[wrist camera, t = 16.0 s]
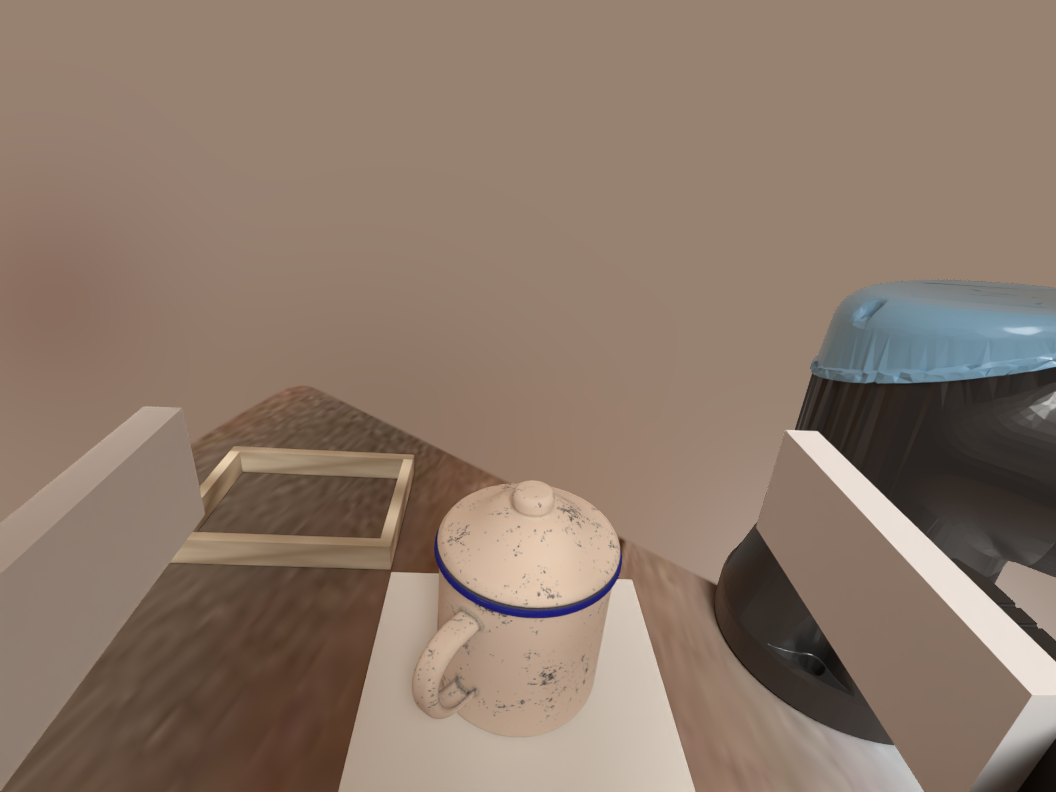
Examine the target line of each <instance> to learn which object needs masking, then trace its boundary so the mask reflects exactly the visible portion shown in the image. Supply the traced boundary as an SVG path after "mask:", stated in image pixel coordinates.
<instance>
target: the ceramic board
mask: <svg viewBox="0 0 1056 792" xmlns="http://www.w3.org/2000/svg"><path fill="white" fill-rule="evenodd" d="M438 592H439V574H437V573H405V572H391V576H390V580H389V585H388V589H387V593H386V597H385V601H384V605H383V609H382V613H381V618H380V622H379V626H378V630H377V634H376V638H375V642H374V646H373V651H372V655H371V659H370V663H369V667H368V671H367V675H366V679H365V683H364V688H363V692H362V696H361V700H360V704H359V708H358V712H357V716H356V721H355V725H354V729H353V733H352V737H351V741H350V745H349V749H348V754H347V758H346V762H345V766H344V770H343V774H342V778H341V782H340V786H339V791H338V792H695V789H694V785H693V782H692V779H691V775H690V772H689V769H688V765H687V762H686V759H685V755H684V752H683V749H682V745H681V742H680V739H679V735H678V732H677V729H676V725H675V722H674V719H673V715H672V712H671V709H670V705H669V702H668V699H667V695H666V692H665V689H664V685H663V682H662V679H661V675H660V672H659V669H658V665H657V662H656V659H655V655H654V652H653V649H652V645H651V642H650V638H649V635H648V632H647V628H646V625H645V622H644V618H643V615H642V612H641V608H640V605H639V602H638V598H637V595H636V592H635V588H634V585H633V582H632V580H628V579H617V581H616V582H615V584H614V586H613V587H612V589H611V595H610V600H609V605H608V610H607V615H606V621H605V626H604V631H603V636H602V642H601V647H600V652H599V657H598V662H597V668H596V673H595V678H594V683H593V687H592V690H591V693H590V695H589V698H588V700H587V701H586V703H585V705H584V706H583V708H582V709H581V710H580V711H579V712H578V713H577V714H576V715H575V716H574V717H573V718H572V719H571V720H570V721H568V722H567V723H566V724H564V725H563V726H561V727H559V728H557V729H555V730H553V731H550V732H548V733H545V734H541V735H537V736H531V737H508V736H502V735H497V734H494V733H490V732H487V731H485V730H483V729H480V728H478V727H477V726H475V725H473V724H471V723H470V722H468V721H467V720H466V719H464V718H463V717H462V716H461V715H460V714H459V713H458V712H456V713H454V714H453V715H451V716H449V717H447V718H444V719H434V718H432V717H430V716H428V715H427V714H426V713H424V712H423V711H422V710H421V709H420V708H419V707H418V706H417V705H416V703H415V701H414V698H413V694H412V679H413V674H414V670H415V667H416V664H417V662H418V660H419V658H420V656H421V654H422V652H423V650H424V649H425V647H426V645H427V644H428V642H429V641H430V640H431V638H432V637H433V636H434V635H435V633H436V632H437V631H438ZM440 690H441V686H440V687H439V691H440Z"/></svg>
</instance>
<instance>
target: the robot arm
mask: <svg viewBox="0 0 1056 792" xmlns="http://www.w3.org/2000/svg"><path fill="white" fill-rule="evenodd" d="M810 369H811V370H812V376H811V379H810V382H809V386H808V389H807V392H806V396H805V399H804V402H803V405H802V408H801V412H800V415H799V418H798V421H797V425H796V428H795V430H785V432H784V436H783V439H782V442H781V446H780V449H779V452H778V456H777V459H776V462H775V466H774V469H773V472H772V476H771V479H770V482H769V486H768V489H767V492H766V496H765V499H764V502H763V506H762V509H761V512H760V516H759V519H758V522H757V523H756V524H755V525H754V527H753V528H752V529H751V530H750V532H749V533H748V534H747V536H746V537H745V538H744V540H743V541H742V542H741V543H740V544H739V545H738V547H737V548H735V549H734V550H733V551H732V552H731V554H730V555H729V556H728V558H727V560H726V562H725V564H724V566H723V569H722V572H721V575H720V578H719V582H718V585H717V589H716V593H715V612H716V616H717V620H718V623H719V626H720V628H721V631H722V633H723V635H724V637H725V639H726V640H727V642H728V644H729V645H730V647H731V648H732V650H733V651H734V653H735V654H736V655H737V657H738V658H739V659H740V661H741V662H742V663H743V664H744V665H745V666H746V668H747V669H748V670H749V671H750V672H751V673H752V674H753V675H754V676H755V677H756V678H757V679H758V680H759V681H760V682H761V683H763V684H764V685H765V686H766V687H767V688H768V689H770V690H771V691H772V692H773V693H775V694H776V695H777V696H778V697H780V698H781V699H783V700H784V701H785V702H787V703H788V704H790V705H791V706H793V707H794V708H796V709H798V710H799V711H801V712H803V713H804V714H806V715H808V716H809V717H811V718H813V719H815V720H817V721H819V722H821V723H823V724H825V725H827V726H829V727H832V728H834V729H836V730H839V731H841V732H844V733H847V734H849V735H852V736H855V737H859V738H862V739H865V740H869V741H873V742H878V743H883V744H890V745H895V746H896V748H897V749H898V751H899V753H900V754H901V756H902V757H903V759H904V760H905V762H906V764H907V765H908V767H909V768H910V770H911V771H912V773H913V775H914V776H915V778H916V779H917V781H918V782H919V784H920V786H921V787H922V789H923V790H924V792H1056V641H1055V640H1054V639H1053V638H1052V637H1051V636H1050V635H1049V634H1048V633H1047V632H1046V631H1044V630H1043V629H1038V627H1037V623H1036V622H1035V621H1034V620H1033V619H1032V618H1031V617H1029V616H1028V615H1027V614H1026V613H1025V612H1024V611H1023V610H1022V609H1021V608H1016V607H1015V603H1014V602H1013V601H1012V600H1011V599H1010V598H1009V597H1008V596H1007V595H1006V594H1005V593H1004V592H1003V591H1002V590H1000V589H999V588H998V587H997V586H996V585H995V582H996V580H997V578H998V576H999V574H1000V572H1001V570H1002V569H1003V567H1004V566H1005V564H1006V563H1007V562H1008V561H1012V562H1016V563H1019V564H1021V565H1024V566H1027V567H1029V568H1032V569H1035V570H1037V571H1040V572H1042V573H1045V574H1048V575H1050V576H1053V577H1056V288H1052V287H1044V286H1034V285H1025V284H1013V283H1000V282H983V281H961V280H960V281H959V280H914V281H913V280H912V281H895V282H886V283H880V284H875V285H871V286H868V287H864V288H862V289H860V290H857V291H855V292H854V293H852V294H851V295H849V296H848V297H847V298H845V299H844V300H843V301H842V302H841V303H840V305H839V306H838V307H837V309H836V311H835V313H834V315H833V318H832V320H831V323H830V325H829V328H828V330H827V333H826V335H825V338H824V341H823V343H822V346H821V348H820V351H819V354H818V355H817V356H816V357H815V358H814V360H813V361H812V363H811V367H810ZM204 515H205V511H204V506H203V502H202V497H201V492H200V488H199V483H198V478H197V474H196V469H195V465H194V460H193V455H192V451H191V446H190V442H189V437H188V433H187V428H186V423H185V419H184V414H183V409H182V408H174V407H147V406H144V407H143V408H141V409H140V410H139V411H138V412H136V413H135V414H134V415H133V416H131V417H130V418H129V419H128V420H127V421H125V422H124V423H123V424H122V425H120V426H119V427H118V428H117V429H116V430H114V431H113V432H112V433H111V434H109V435H108V436H107V437H106V438H104V439H103V440H102V441H101V442H100V443H98V444H97V445H96V446H95V447H93V448H92V449H91V450H90V451H88V452H87V453H86V454H85V455H83V456H82V457H81V458H80V459H79V460H77V461H76V462H75V463H74V464H72V465H71V466H70V467H69V468H67V469H66V470H65V471H64V472H63V473H61V474H60V475H59V476H58V477H56V478H55V479H54V480H53V481H51V482H50V483H49V484H48V485H46V486H45V487H44V488H43V489H42V490H40V491H39V492H38V493H37V494H35V495H34V496H33V497H32V498H30V499H29V500H28V501H27V502H25V503H24V504H23V505H22V506H21V507H19V508H18V509H17V510H16V511H14V512H13V513H12V514H11V515H9V516H8V517H7V518H6V519H5V520H3V521H2V522H1V523H0V791H1V790H2V789H3V787H4V786H5V785H6V783H7V782H8V781H9V779H10V778H11V777H12V775H13V774H14V772H15V771H16V770H17V768H18V767H19V766H20V764H21V763H22V762H23V760H24V759H25V758H26V756H27V755H28V754H29V752H30V751H31V749H32V748H33V747H34V745H35V744H36V743H37V741H38V740H39V739H40V737H41V736H42V735H43V733H44V732H45V731H46V729H47V728H48V726H49V725H50V724H51V722H52V721H53V720H54V718H55V717H56V716H57V714H58V713H59V712H60V710H61V709H62V708H63V706H64V705H65V703H66V702H67V701H68V699H69V698H70V697H71V695H72V694H73V693H74V691H75V690H76V689H77V687H78V686H79V685H80V683H81V682H82V680H83V679H84V678H85V676H86V675H87V674H88V672H89V671H90V670H91V668H92V667H93V666H94V664H95V663H96V662H97V660H98V659H99V657H100V656H101V655H102V653H103V652H104V651H105V649H106V648H107V647H108V645H109V644H110V643H111V641H112V640H113V639H114V637H115V636H116V634H117V633H118V632H119V630H120V629H121V628H122V626H123V625H124V624H125V622H126V621H127V620H128V618H129V617H130V616H131V614H132V613H133V611H134V610H135V609H136V607H137V606H138V605H139V603H140V602H141V601H142V599H143V598H144V597H145V595H146V594H147V593H148V591H149V590H150V588H151V587H152V586H153V584H154V583H155V582H156V580H157V579H158V578H159V576H160V575H161V574H162V572H163V571H164V570H165V568H166V567H167V565H168V564H169V563H170V561H171V560H172V559H173V557H174V556H175V555H176V553H177V552H178V551H179V549H180V548H181V547H182V545H183V544H184V542H185V541H186V540H187V538H188V537H189V536H190V534H191V533H192V532H193V530H194V529H195V528H196V526H197V525H198V524H199V522H200V521H201V519H202V518H203V517H204Z"/></svg>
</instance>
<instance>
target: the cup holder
mask: <svg viewBox="0 0 1056 792" xmlns="http://www.w3.org/2000/svg"><path fill="white" fill-rule="evenodd" d="M242 472H259V473H282V474H305V475H328V476H350V477H373V478H396V479H398V480H397V483H396V487H395V490H394V494H393V497H392V500H391V504H390V507H389V511H388V514H387V518H386V521H385V525H384V528H383V532H382V535H381V538H380V539H377V538H349V537H321V536H293V535H265V534H237V533H209V532H198V530H199V529H200V528H201V526H202V525H203V524H204V522H205V521H206V520H207V518H208V517H209V516H210V514H211V513H212V512H213V510H214V509H215V508H216V507H217V505H218V504H219V503H220V501H221V500H222V499H223V497H224V496H225V495H226V493H227V492H228V491H229V489H230V488H231V487H232V485H233V484H234V483H235V481H236V480H237V479H238V477H239V476H240V475H241V473H242ZM413 477H414V455H407V454H386V453H365V452H344V451H323V450H302V449H280V448H259V447H238V446H234V447H233V448H232V449H231V450H230V452H229V453H228V454H227V455H226V456H225V457H224V459H223V460H222V461H221V462H220V463H219V465H218V466H217V467H216V468H215V469H214V470H213V472H212V473H211V474H210V475H209V476H208V478H207V479H206V480H205V481H204V482H203V484H202V485H201V486H200V487H199V488H200V492H201V497H202V502H203V506H204V511H205V515H204V517H203V518H202V519H201V521H200V522H199V524H198V525H197V526H196V528H195V529H194V530H193V532H192V533H191V534H190V536H189V537H188V538H187V540H186V541H185V542H184V544H183V545H182V547H181V548H180V549H179V551H178V552H177V553H176V555H175V556H174V557H173V559H172V560H171V561H170V563H197V564H228V565H260V566H291V567H323V568H355V569H386V570H391V566H392V562H393V558H394V554H395V550H396V546H397V542H398V538H399V534H400V530H401V526H402V522H403V518H404V513H405V509H406V505H407V501H408V497H409V493H410V489H411V485H412V481H413Z"/></svg>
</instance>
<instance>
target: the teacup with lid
mask: <svg viewBox="0 0 1056 792" xmlns="http://www.w3.org/2000/svg"><path fill="white" fill-rule="evenodd" d="M434 550H435V558H436V561H437V564H438V567H439V592H438V631H437V632H436V633H435V635H434V636H433V637H432V638H431V640H430V641H429V642H428V644H427V645H426V647H425V649H424V650H423V652H422V654H421V656H420V658H419V660H418V662H417V664H416V667H415V670H414V674H413V679H412V694H413V698H414V701H415V703H416V705H417V706H418V707H419V708H420V709H421V710H422V711H423V712H424V713H426V714H427V715H428V716H430V717H432V718H434V719H444V718H447V717H449V716H451V715H453V714H454V713H456V712H458V713H459V714H460V715H461V716H462V717H463V718H464V719H466V720H467V721H468V722H470V723H471V724H473V725H475V726H477V727H478V728H480V729H483V730H485V731H487V732H490V733H494V734H497V735H502V736H508V737H531V736H537V735H541V734H545V733H548V732H550V731H553V730H555V729H557V728H559V727H561V726H563V725H564V724H566V723H567V722H568V721H570V720H571V719H572V718H573V717H574V716H575V715H576V714H577V713H578V712H579V711H580V710H581V709H582V708H583V706H584V705H585V703H586V701H587V700H588V698H589V695H590V693H591V690H592V687H593V683H594V678H595V673H596V668H597V662H598V657H599V652H600V647H601V642H602V636H603V631H604V626H605V621H606V615H607V610H608V605H609V600H610V595H611V589H612V587H613V586H614V584H615V582H616V581H617V579H618V576H619V573H620V570H621V565H622V555H621V549H620V544H619V541H618V537H617V535H616V533H615V531H614V529H613V527H612V525H611V524H610V522H609V521H608V520H607V519H606V517H605V516H604V515H603V514H602V513H601V512H600V511H599V510H598V509H596V507H594V506H593V505H592V504H590V503H589V502H587V501H586V500H584V499H582V498H580V497H578V496H576V495H574V494H572V493H570V492H567V491H564V490H562V489H558V488H555V487H551V486H549V485H547V484H546V483H543V482H541V481H536V480H529V481H524V482H522V483H509V484H501V485H495V486H491V487H487V488H484V489H481V490H478V491H476V492H474V493H472V494H470V495H468V496H466V497H465V498H463V499H462V500H460V501H459V502H458V503H456V504H455V505H454V506H453V507H452V508H451V509H450V511H449V512H448V513H447V514H446V516H445V517H444V519H443V521H442V522H441V525H440V527H439V529H438V531H437V534H436V538H435V547H434ZM440 686H441V690H440V691H439V687H440Z"/></svg>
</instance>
